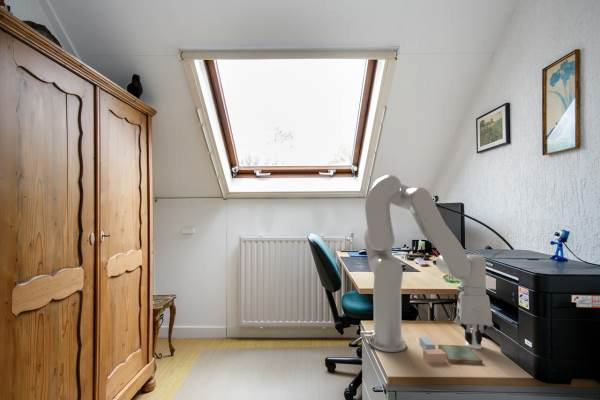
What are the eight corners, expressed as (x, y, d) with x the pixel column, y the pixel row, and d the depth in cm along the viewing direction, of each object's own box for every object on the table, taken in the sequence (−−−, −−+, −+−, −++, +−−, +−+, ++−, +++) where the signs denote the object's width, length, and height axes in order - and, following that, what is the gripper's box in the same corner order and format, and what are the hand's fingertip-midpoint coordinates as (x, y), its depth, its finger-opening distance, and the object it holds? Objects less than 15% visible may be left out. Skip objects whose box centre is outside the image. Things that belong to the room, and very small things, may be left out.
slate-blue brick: (435, 353, 104) (435, 344, 104) (426, 353, 104) (426, 344, 104) (428, 345, 110) (427, 336, 110) (419, 345, 110) (419, 337, 110)
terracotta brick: (427, 363, 98) (427, 354, 98) (423, 359, 101) (423, 349, 101) (446, 363, 98) (446, 353, 98) (441, 358, 101) (440, 349, 101)
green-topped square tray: (448, 362, 98) (448, 358, 98) (438, 348, 108) (438, 344, 108) (482, 364, 97) (482, 360, 97) (468, 349, 107) (468, 345, 107)
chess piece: (483, 349, 106) (483, 320, 107) (468, 348, 107) (468, 319, 108) (478, 343, 111) (478, 315, 111) (463, 342, 112) (463, 314, 112)
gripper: (453, 292, 107) (453, 346, 107) (503, 294, 105) (503, 349, 105) (445, 286, 114) (445, 337, 114) (492, 288, 112) (492, 339, 112)
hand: (473, 342), depth 109 cm, fingers closed on chess piece
